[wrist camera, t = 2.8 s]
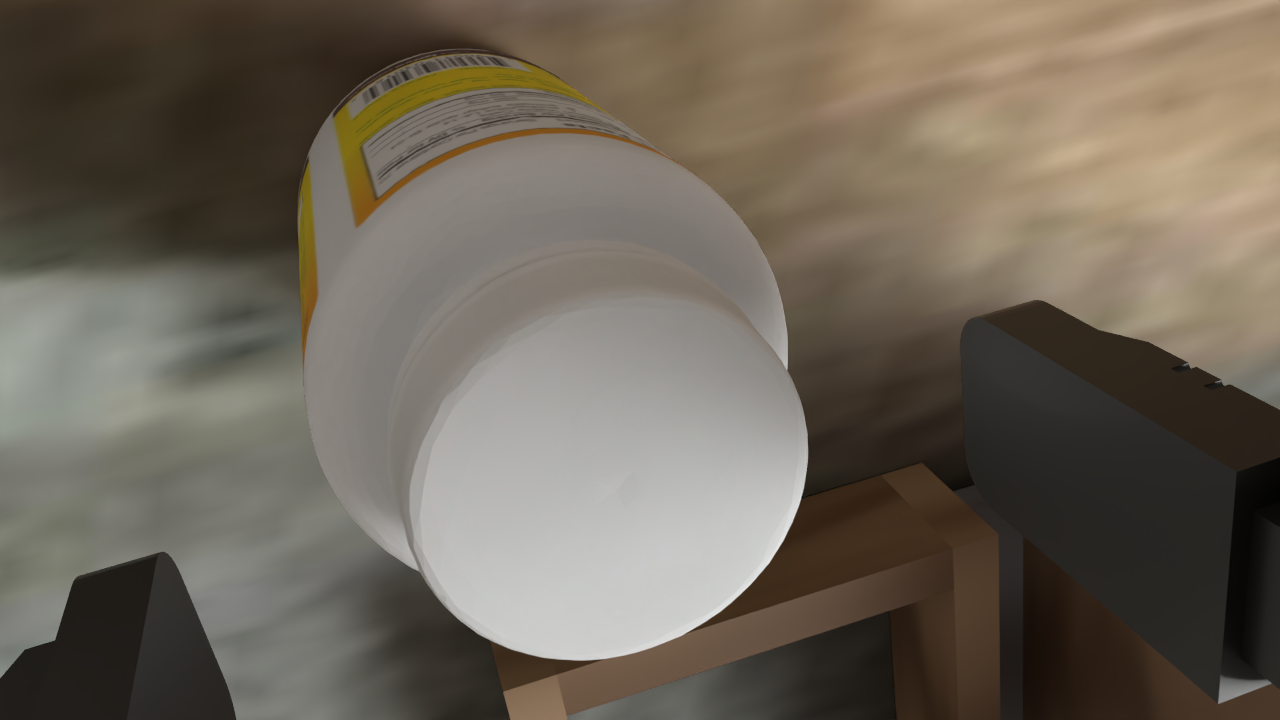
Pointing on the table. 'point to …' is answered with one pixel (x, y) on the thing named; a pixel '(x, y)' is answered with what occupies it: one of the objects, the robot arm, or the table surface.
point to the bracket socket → (912, 621)
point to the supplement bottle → (541, 359)
